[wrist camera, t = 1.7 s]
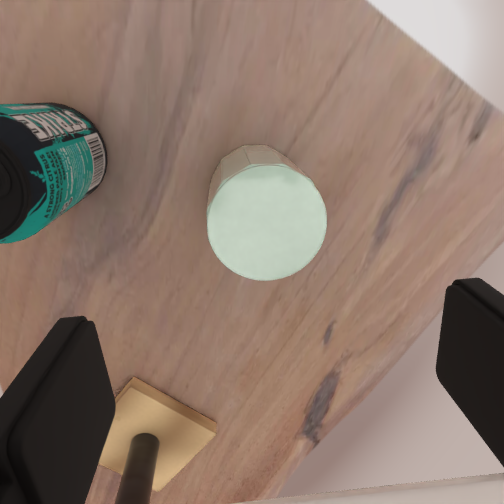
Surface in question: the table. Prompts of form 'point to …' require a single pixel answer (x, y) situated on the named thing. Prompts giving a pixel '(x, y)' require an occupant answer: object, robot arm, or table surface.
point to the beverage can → (45, 165)
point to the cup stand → (151, 440)
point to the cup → (264, 214)
